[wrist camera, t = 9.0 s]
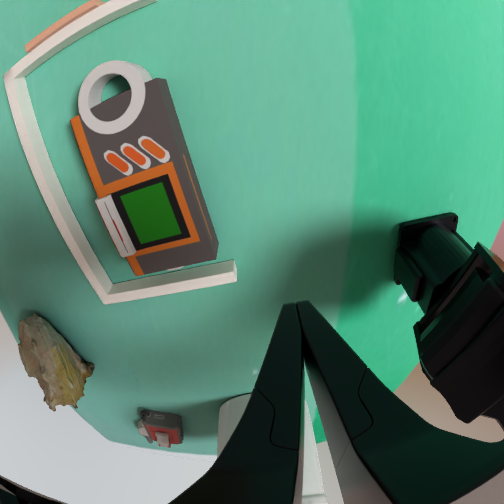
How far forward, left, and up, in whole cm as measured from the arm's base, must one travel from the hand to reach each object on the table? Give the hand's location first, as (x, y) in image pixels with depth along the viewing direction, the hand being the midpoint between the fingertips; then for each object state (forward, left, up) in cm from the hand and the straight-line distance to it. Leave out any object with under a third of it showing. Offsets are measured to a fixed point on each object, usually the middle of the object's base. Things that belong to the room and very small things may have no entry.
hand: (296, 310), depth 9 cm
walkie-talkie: (+28, +41, -12) cm, 51 cm away
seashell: (+30, +13, -12) cm, 35 cm away
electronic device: (+8, -4, -12) cm, 15 cm away
